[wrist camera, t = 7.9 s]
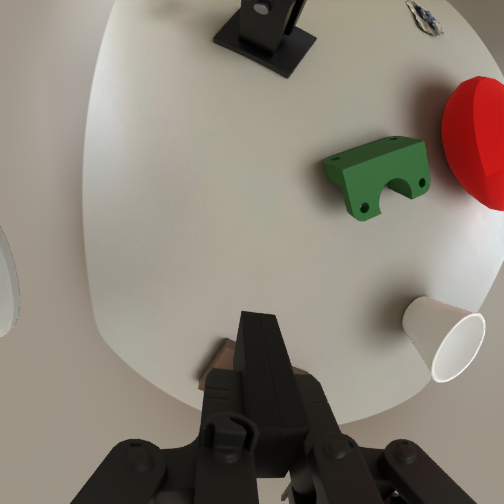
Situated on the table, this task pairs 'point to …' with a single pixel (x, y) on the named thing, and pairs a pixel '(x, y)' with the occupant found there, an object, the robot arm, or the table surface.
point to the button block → (227, 361)
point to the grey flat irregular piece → (425, 19)
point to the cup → (443, 336)
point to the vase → (477, 139)
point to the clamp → (379, 173)
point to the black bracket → (268, 34)
